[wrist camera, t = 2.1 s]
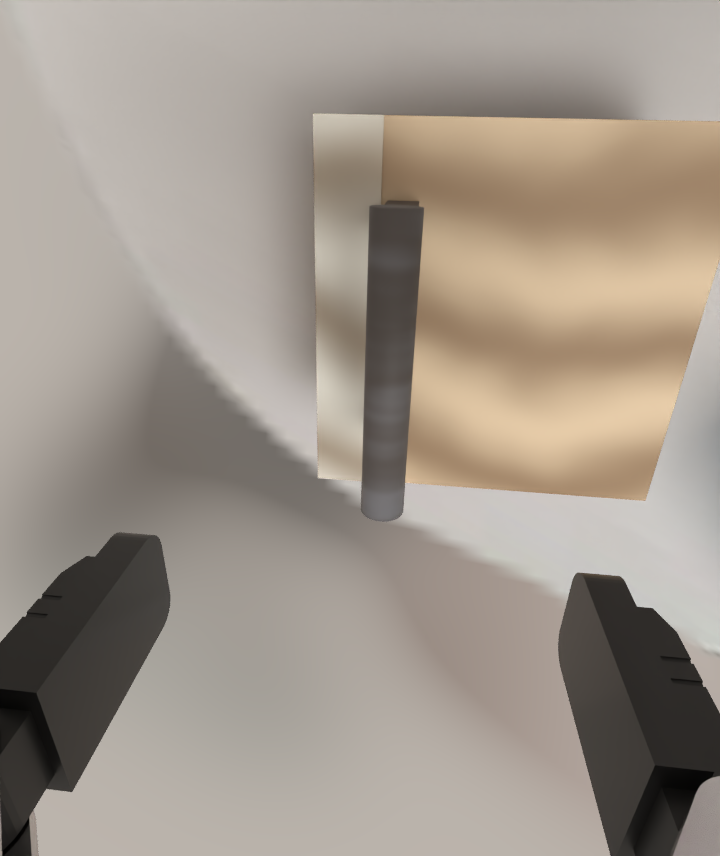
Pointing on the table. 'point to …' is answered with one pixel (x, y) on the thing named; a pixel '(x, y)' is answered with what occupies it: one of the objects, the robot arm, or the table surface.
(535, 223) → the lid
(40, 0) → the table surface
